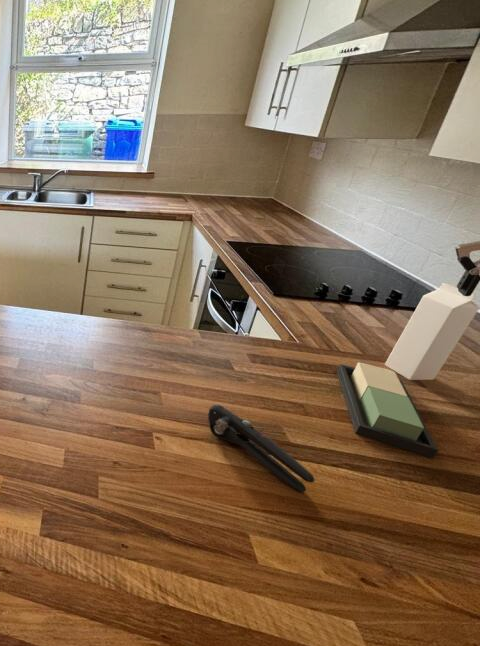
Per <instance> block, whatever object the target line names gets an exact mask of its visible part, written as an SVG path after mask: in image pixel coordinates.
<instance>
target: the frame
mask: <svg viewBox="0 0 480 646" xmlns="http://www.w3.org/2000/svg"><path fill="white" fill-rule="evenodd" d="M355 368H356V367H353V366H349V365H345V364H341V363H340V364H339V365H338V367H337V369H336V374H337V377H338V381H339V383H340V386H341V391H342V394H343V397H344V401H345V405H346V407H347V410H348V411H347V412H348V415H349V417H350V420H351V425H352V427H353V430H354V433H355V434H356V435H359V436H362V437H366V438H368V439H371V440H374V441H378V442H381V443H384V444H386V445H390V446H393V447H396V448H399V449H403V450H405V451H409V452H412V453H414V454H418V455H421V456H424V457H427V458H430V459H434V458H435V456H436V455H437V453H438V452H439V448H438V446H437V445H436V443H435V442H434V438H433V437H432V435H431V433H430V432H429V430H428V427H427V426H426V424H425V422H424V420H423V418H422V417H421V414H420V412H419V411H418V408H417V407H416V405H415V403H414V401H413V399H412V397H411V395H410V394H409V391H408V389H407V388H406V385H405V384H404V382H403V380H402V379H399V381H400V383H401V385H402V387H403V389H404V391H405V393H406V395H407V397H408V398H409V399H410V401H411V403H412V405H413V407H414V409H415V411H416V413H417V415H418V417H419V419H420V421H421V423H422V425H423V427H424V429H423V431H422V432H421V434H420V435H419V437H418V438H417V440H416V441H414V440H411V439H408V438H405V437H402V436H398V435H395V434H392V433H389V432H386V431H382V430H379V429H376V428H373V427H370V426H368V423H367V420H366V417H365V414H364V411H363V408H362V405H361V402H360V401H359V398H358V395H357V392H356V389H355V386H354V383H353V381H352V378H351V375H352V373H353V371H354V370H355Z"/></svg>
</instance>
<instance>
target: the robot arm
mask: <svg viewBox="0 0 480 646" xmlns="http://www.w3.org/2000/svg"><path fill="white" fill-rule="evenodd" d="M454 248H455V253H456V257H457V258H456V260H457V261H458V263H459V264H460V265H461V266H462V268H463V270H465V271H464V272H463V274H462V276H461V277H460V278H459V281H458V282H457V285H456V287H457V288H458V291H459V292H460V293H461V294H462V295H463V296H471V294H472V293H474V292H475V290H476V288H477V287H478V285H479V283H480V258H478V259H475V260H474V261H473V260H472V259H471V255H470V254H471V253H472V252H477V251H480V240H478V241H471V242H466V243H460V244H457V245H456V246H455V247H454Z"/></svg>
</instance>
